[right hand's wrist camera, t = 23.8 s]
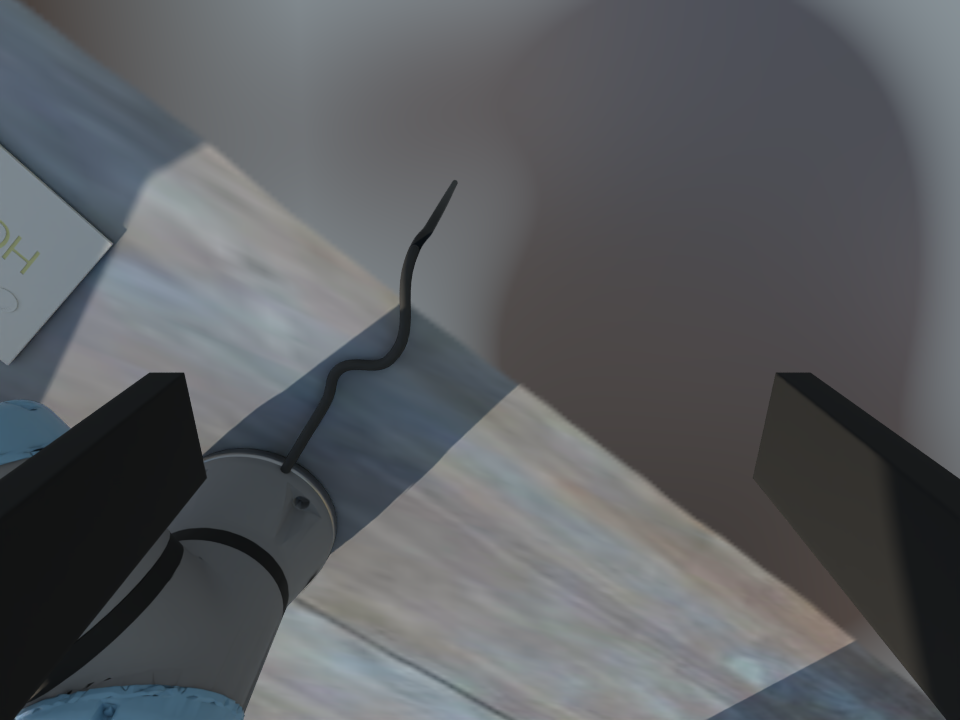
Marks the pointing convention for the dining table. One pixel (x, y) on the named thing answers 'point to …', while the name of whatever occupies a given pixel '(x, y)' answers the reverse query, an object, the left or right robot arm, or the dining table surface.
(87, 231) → the invitation card
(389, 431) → the dining table surface
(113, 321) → the dining table surface
